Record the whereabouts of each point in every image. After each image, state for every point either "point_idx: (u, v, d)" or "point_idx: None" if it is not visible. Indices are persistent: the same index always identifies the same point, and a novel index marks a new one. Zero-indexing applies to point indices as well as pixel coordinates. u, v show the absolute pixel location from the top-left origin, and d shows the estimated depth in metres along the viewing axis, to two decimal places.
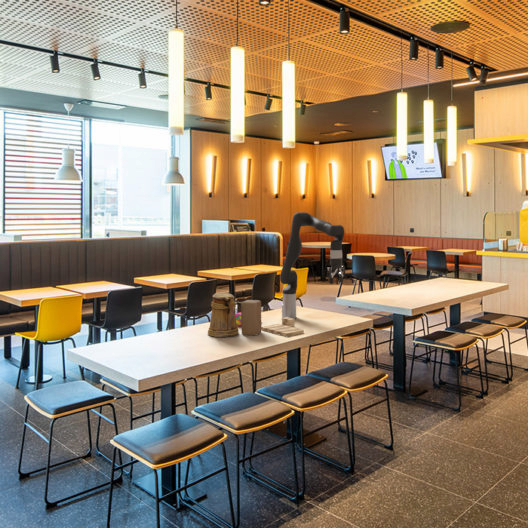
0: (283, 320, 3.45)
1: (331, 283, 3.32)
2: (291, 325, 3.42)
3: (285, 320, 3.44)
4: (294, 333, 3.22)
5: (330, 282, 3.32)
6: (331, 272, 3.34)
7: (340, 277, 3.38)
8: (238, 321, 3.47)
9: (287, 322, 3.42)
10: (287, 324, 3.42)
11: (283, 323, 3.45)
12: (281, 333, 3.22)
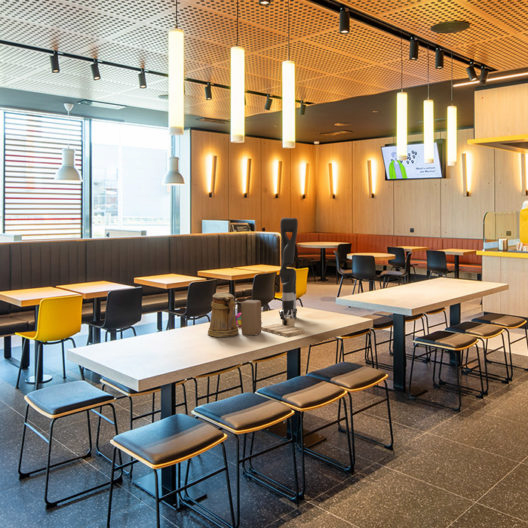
0: None
1: None
2: (291, 325, 3.42)
3: None
4: (294, 333, 3.22)
5: (284, 324, 3.43)
6: (284, 314, 3.44)
7: None
8: (240, 321, 3.46)
9: (287, 322, 3.42)
10: (287, 324, 3.42)
11: None
12: (281, 333, 3.22)
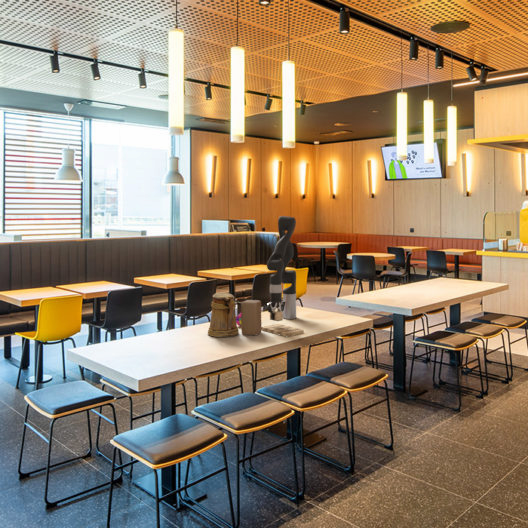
0: None
1: (273, 318, 3.33)
2: (279, 318, 3.32)
3: None
4: (294, 333, 3.22)
5: (272, 317, 3.33)
6: (272, 307, 3.35)
7: None
8: None
9: (275, 315, 3.32)
10: (275, 317, 3.32)
11: None
12: (281, 333, 3.22)
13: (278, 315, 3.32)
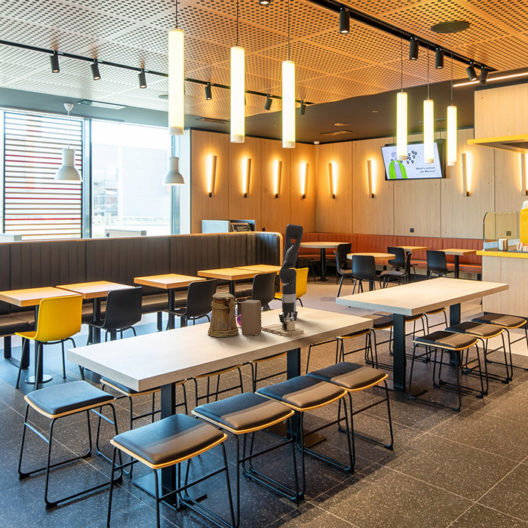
0: None
1: (285, 329, 3.25)
2: (291, 328, 3.24)
3: None
4: (294, 333, 3.22)
5: (284, 328, 3.24)
6: (284, 317, 3.26)
7: None
8: None
9: (287, 325, 3.24)
10: (287, 327, 3.24)
11: None
12: (281, 333, 3.22)
13: (290, 325, 3.23)
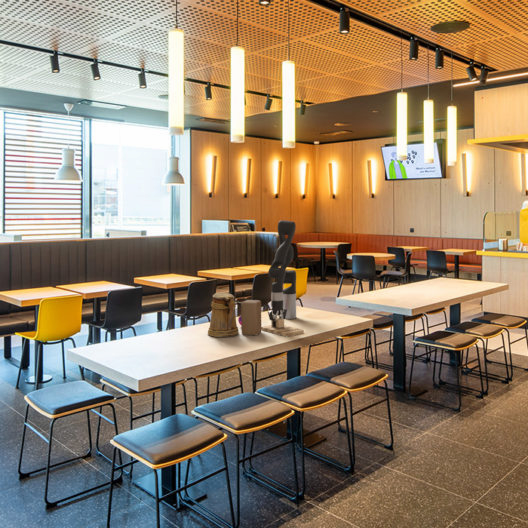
0: None
1: (274, 326, 3.33)
2: (281, 325, 3.32)
3: None
4: (294, 333, 3.22)
5: (273, 325, 3.32)
6: (273, 314, 3.34)
7: None
8: None
9: (276, 322, 3.31)
10: (276, 324, 3.32)
11: (272, 323, 3.35)
12: (281, 333, 3.22)
13: (280, 322, 3.31)
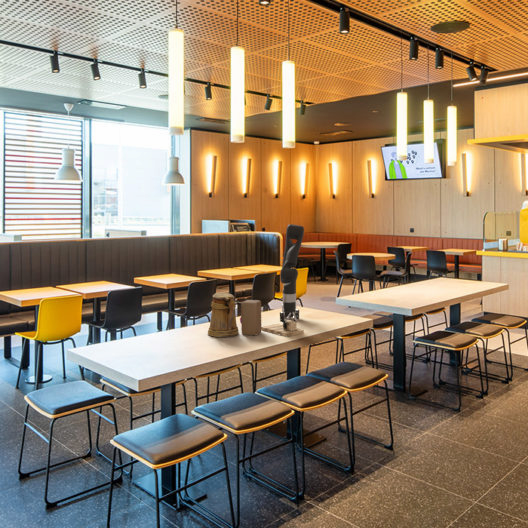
0: None
1: (285, 328, 3.23)
2: (293, 328, 3.23)
3: (287, 323, 3.24)
4: (294, 333, 3.22)
5: (284, 327, 3.23)
6: (285, 316, 3.25)
7: None
8: None
9: (289, 325, 3.23)
10: (289, 327, 3.23)
11: None
12: (281, 333, 3.22)
13: (292, 325, 3.22)
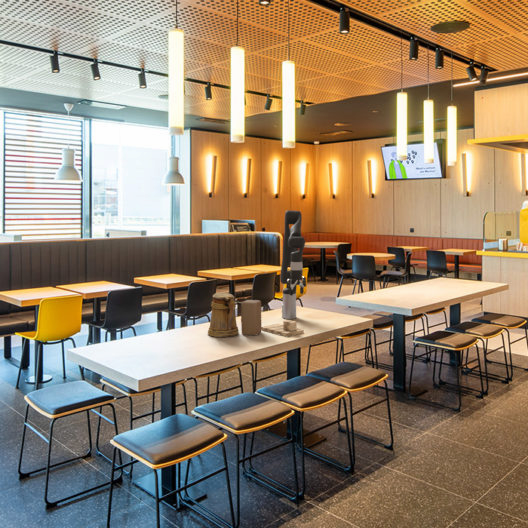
0: (284, 323, 3.26)
1: (291, 295, 3.32)
2: (293, 328, 3.23)
3: (287, 323, 3.24)
4: (294, 333, 3.22)
5: (290, 294, 3.32)
6: (291, 283, 3.33)
7: (301, 288, 3.37)
8: None
9: (289, 325, 3.23)
10: (289, 327, 3.23)
11: (284, 326, 3.26)
12: (281, 333, 3.22)
13: (292, 325, 3.22)
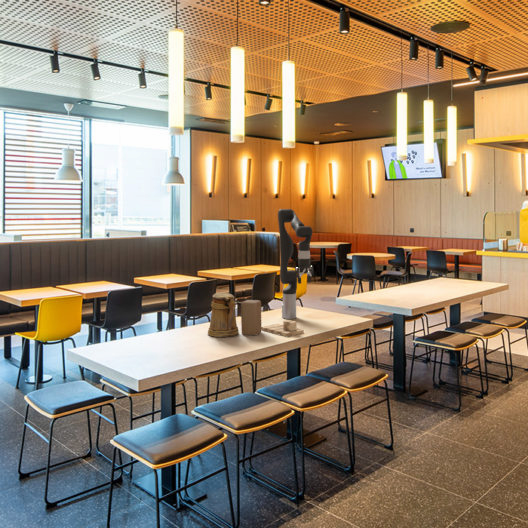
0: (284, 323, 3.26)
1: (299, 283, 3.40)
2: (293, 328, 3.23)
3: (287, 323, 3.24)
4: (294, 333, 3.22)
5: (298, 282, 3.40)
6: (299, 272, 3.42)
7: (308, 277, 3.46)
8: None
9: (289, 325, 3.23)
10: (289, 327, 3.23)
11: (284, 326, 3.26)
12: (281, 333, 3.22)
13: (292, 325, 3.22)
